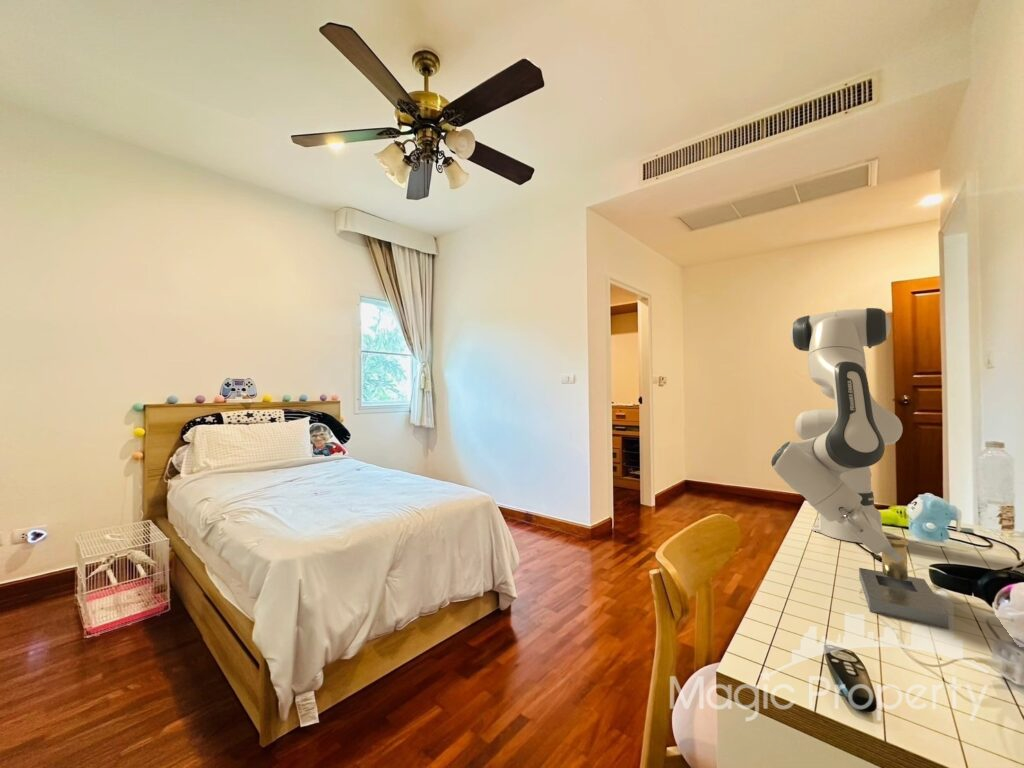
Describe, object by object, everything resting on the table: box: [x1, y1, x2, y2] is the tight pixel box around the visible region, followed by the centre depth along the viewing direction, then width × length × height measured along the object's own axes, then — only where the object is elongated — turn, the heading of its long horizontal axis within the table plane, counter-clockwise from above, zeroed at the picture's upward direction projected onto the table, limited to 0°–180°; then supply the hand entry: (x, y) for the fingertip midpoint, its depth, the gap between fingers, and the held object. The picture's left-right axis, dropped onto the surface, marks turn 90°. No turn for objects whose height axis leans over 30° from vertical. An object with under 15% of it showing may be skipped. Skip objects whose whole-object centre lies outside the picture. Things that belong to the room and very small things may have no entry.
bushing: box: [881, 534, 910, 580], centre depth 89 cm, size 5×5×8 cm
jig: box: [858, 567, 950, 630], centre depth 86 cm, size 18×11×2 cm, turn 145°
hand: (898, 555), depth 88 cm, fingers closed on bushing, 4 cm apart
